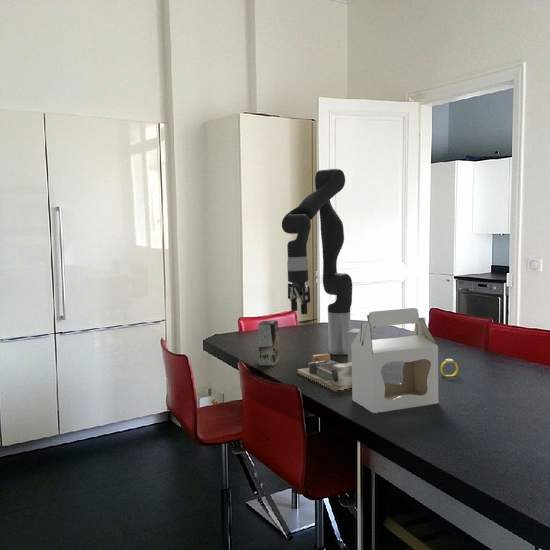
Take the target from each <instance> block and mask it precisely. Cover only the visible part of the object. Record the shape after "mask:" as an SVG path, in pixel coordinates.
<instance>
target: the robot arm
mask: <svg viewBox="0 0 550 550" xmlns="http://www.w3.org/2000/svg"><path fill="white" fill-rule="evenodd" d="M314 177H315V178H314V183H315V184H314V185H315V190H314V191H313V192H311V193H310V194H309V195H307V196H306V197H304V199H303V200H302V201H301V202H300V204H299V205H298V206H297V207H295V208H293V209H292V210H290V211H289V212H288V213H286V214H285V215H284V216H283V218H282V221H281V228H282V229H281V230H282V231H283V232H284V233H285V234H291V235H297V236H296V238H295V239H293V240H290V241H288V242H287V245H286V247H287V248H286V249H287V263H286V265H287V281H288V282H287V299H288V300H289V301H290V307H291V308H290V309H291V311H292V312H297V311H298V300H299V302H300V314H301V315H307V314H308V304H309V303H311V295H310V294H311V293H310V292H311V291H310V286H309V285H306V282H308V281H309V263H308V262H309V261H308V256H307V255H308V253H307V252H308V250H307V249H308V248H307V244H308V240H309V237H310V236H309V235H310V232H311V226H312V225H311V221H312V220H313V219H314V218H315V216H316V215H317V213H318V212H319V220H320V222H319V223H320V238H321V248H322V286H323V289H324V292H325V293H326V294H327V295H330V296H336V298H335V301H334V302H332V303H330V304H328V305H327V327H328V329H327V331H328V336H327V337H328V353H329V354H330V355H335V356H344V355H348V343H347V332H348V331H350V330H351V327H352V326H351V325H352V324H351V307H352V304H353V281H352V280H353V279H352V277H351V276H350V275H349V274H348V273H344V272H338V267H337V263H338V261H337V260H338V257H339V254H340V252H341V251H342V248H343V246H344V242H345V231H344V224H343V223H344V222H343V221H342V220H341V218H340V216H339V214H338V212H336V210H335V208H334V207H333V205H332V203H331V199H332V198H334V197H335V196H336V195H337V194H338V193H339V192H341V191H342V190H343V189H344V187H345V184H346V176H345V173H344V171H343V170H342V169H340V168H327V169H320V170H318V171H316V173H315V176H314Z"/></svg>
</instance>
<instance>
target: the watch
mask: <svg viewBox="0 0 550 550" xmlns="http://www.w3.org/2000/svg"><path fill="white" fill-rule="evenodd" d="M447 363H448V364H449V363H453V364H454V365H455V371H454V373H452V374H445V373H444V371H443V369H444V366H445V364H447ZM439 370H440V373H441V375H442V376H444V377H445V378H449V377H451V378H453V377H456V375H457V374H458V372H459V365H458V364H457V362H456V361H454V359H453V358H446V359H444V361H443V362H441V364H440V369H439Z"/></svg>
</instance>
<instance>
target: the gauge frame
mask: <svg viewBox="0 0 550 550" xmlns="http://www.w3.org/2000/svg"><path fill="white" fill-rule="evenodd" d="M333 361H334V362H336V365H332V371H328V370H326V369H323V368H321V367H319V366H317V365H316V373H313V374H310V373H309V367H304V368H303V367H302V368H298V369H297V374H298V375H300V376H302V377H304V378H306V377H307V378H306V379H308V378H309V379H308V380H310V379H311V380H310V381H312V380H313V381H312V382H314V381H315V382H314V383H316V382H317V383H316V384H318V383H319V384H318V385H320V384H321V386H322V385H323V386H322V387H324V386H325V387H324V388H326V387H327V388H326V389H328V388H329V389H328V390H330V389H331V390H330V391H332V390H333V391H332V392H334V391H335V392H338V391H337V390H341V391H345V390H344V389H347V390H351V389H350V388H352V362H349V363H348V362H344V363H343V362H342V363H340V362H337V361H335V360H333Z"/></svg>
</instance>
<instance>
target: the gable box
mask: <svg viewBox="0 0 550 550" xmlns="http://www.w3.org/2000/svg"><path fill="white" fill-rule="evenodd" d="M366 318H367V321H365V322H362V323H360V328H359V329H360V331H359V332H358V334H357V336H356V338H355V339H354V341H353V343H352V345H351V349H352V389H351V393H352V394H351V397H352V401H353V402H354V403H356V404H357V405H359V406H361V407H362V406H363V407H362V408H364V409H366V410H367V411H369V412H371V413H372V414H378V413H379V412H380V413H385V412H391V411H397V410H405V409H410V408H412V409H413V408H417V407H424V406H431V405H438V404H439V344H438V343H437V342H436V339H435V337H434V336H433V334H432V333H431V330H430V329H429V327H428V325H427V324H426V323H427V322H426V317H420V316H419V310H418V308H416V307H411V308H409V307H407V308H397V309H390V310H389V309H388V310H387V309H386V310H377V311H370V312H369V314H367V315H366ZM406 324H407V325H408V324H412V325H413V324H414V332H413V335H409V336H400V337H389V338H379V339H373V337H372V329H373V328H377V327H388V326H389V327H390V326H397V325H406ZM394 362H401V363H402V362H404V363H403V368H402V375H403V379H402V382H400V383H391V382H384V381H385V380H384V379H383V376H382V375H383V374H382V368H383V367H384V366H385V365H386V364H389V363H394Z"/></svg>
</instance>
